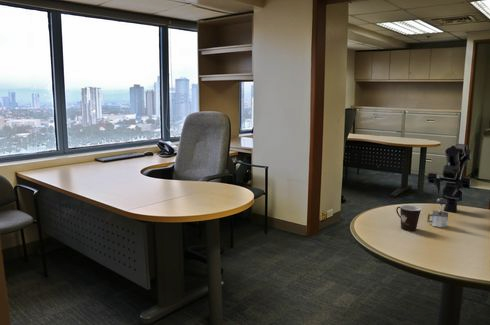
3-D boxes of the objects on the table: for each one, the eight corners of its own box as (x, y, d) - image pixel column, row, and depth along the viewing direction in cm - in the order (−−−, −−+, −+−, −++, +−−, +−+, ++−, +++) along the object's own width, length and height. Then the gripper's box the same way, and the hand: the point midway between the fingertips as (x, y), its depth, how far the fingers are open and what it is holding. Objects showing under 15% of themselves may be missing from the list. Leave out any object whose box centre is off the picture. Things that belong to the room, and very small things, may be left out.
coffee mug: (421, 232, 177) (424, 211, 175) (402, 232, 177) (404, 210, 175) (411, 223, 189) (413, 203, 187) (393, 223, 189) (395, 203, 187)
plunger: (434, 213, 189) (436, 197, 188) (446, 215, 187) (447, 198, 186) (433, 216, 185) (435, 199, 183) (445, 218, 183) (447, 201, 181)
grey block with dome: (427, 221, 192) (428, 209, 191) (446, 224, 188) (448, 212, 187) (426, 225, 186) (428, 213, 185) (446, 229, 182) (448, 216, 181)
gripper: (430, 156, 197) (422, 182, 190) (473, 161, 186) (466, 188, 180) (431, 169, 205) (424, 194, 198) (473, 174, 194) (467, 201, 187)
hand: (445, 194), depth 190 cm, fingers open, 6 cm apart
